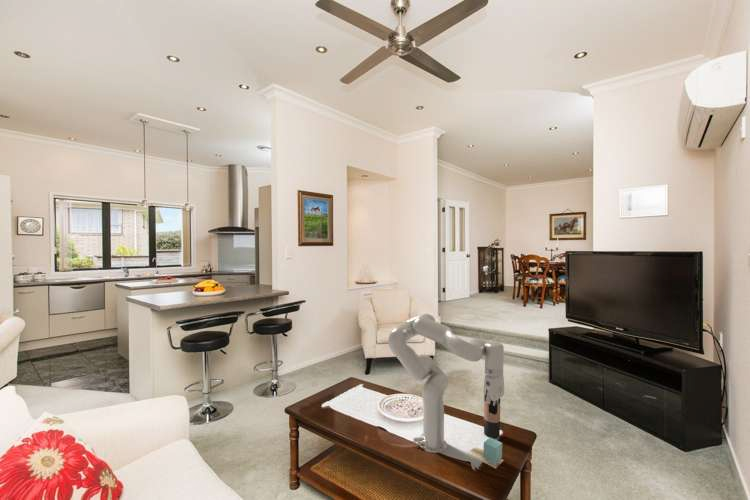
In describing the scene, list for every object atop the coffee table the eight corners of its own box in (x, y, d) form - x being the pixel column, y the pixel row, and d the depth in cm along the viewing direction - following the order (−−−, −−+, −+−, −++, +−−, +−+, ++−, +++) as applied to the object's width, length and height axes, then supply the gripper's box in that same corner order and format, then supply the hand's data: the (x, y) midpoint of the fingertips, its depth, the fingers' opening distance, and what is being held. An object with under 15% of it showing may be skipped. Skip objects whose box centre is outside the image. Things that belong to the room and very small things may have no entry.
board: (495, 470, 142) (495, 468, 142) (466, 455, 152) (466, 453, 152) (503, 461, 147) (503, 460, 147) (475, 447, 157) (475, 446, 157)
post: (495, 465, 144) (495, 449, 143) (484, 460, 147) (485, 444, 147) (500, 460, 147) (500, 445, 147) (490, 455, 150) (490, 440, 150)
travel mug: (501, 441, 162) (501, 400, 162) (484, 439, 164) (485, 398, 163) (498, 432, 170) (499, 393, 169) (482, 430, 171) (483, 391, 171)
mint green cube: (495, 463, 143) (495, 448, 143) (483, 457, 147) (483, 442, 147) (501, 457, 147) (502, 442, 147) (489, 451, 151) (490, 437, 151)
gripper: (493, 379, 138) (492, 423, 139) (510, 369, 148) (509, 410, 149) (476, 373, 143) (476, 415, 144) (494, 364, 153) (493, 404, 154)
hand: (492, 412), depth 146 cm, fingers closed
